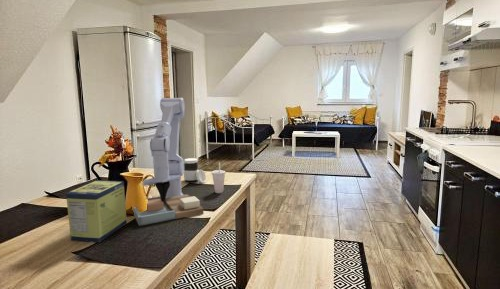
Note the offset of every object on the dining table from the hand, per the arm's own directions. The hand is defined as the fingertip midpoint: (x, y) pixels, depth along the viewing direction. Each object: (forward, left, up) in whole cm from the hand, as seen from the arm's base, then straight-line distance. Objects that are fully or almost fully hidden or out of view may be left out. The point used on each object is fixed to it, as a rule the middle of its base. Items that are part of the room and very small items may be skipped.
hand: (163, 200), depth 127 cm
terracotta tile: (0, -4, -2) cm, 4 cm away
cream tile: (+9, +8, -1) cm, 12 cm away
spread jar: (-31, +23, -3) cm, 38 cm away
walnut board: (+4, +7, -3) cm, 8 cm away
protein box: (+12, -24, -3) cm, 27 cm away
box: (+4, -5, -3) cm, 7 cm away
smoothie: (-8, +27, -3) cm, 28 cm away
